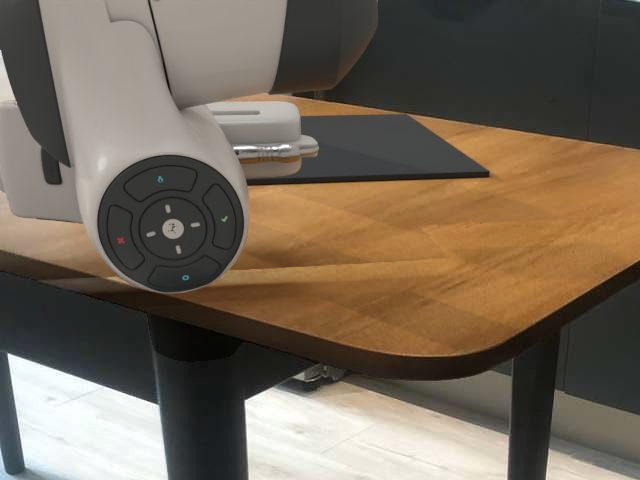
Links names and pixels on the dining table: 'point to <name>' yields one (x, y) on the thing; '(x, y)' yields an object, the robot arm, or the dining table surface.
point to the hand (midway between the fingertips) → (142, 117)
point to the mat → (375, 152)
